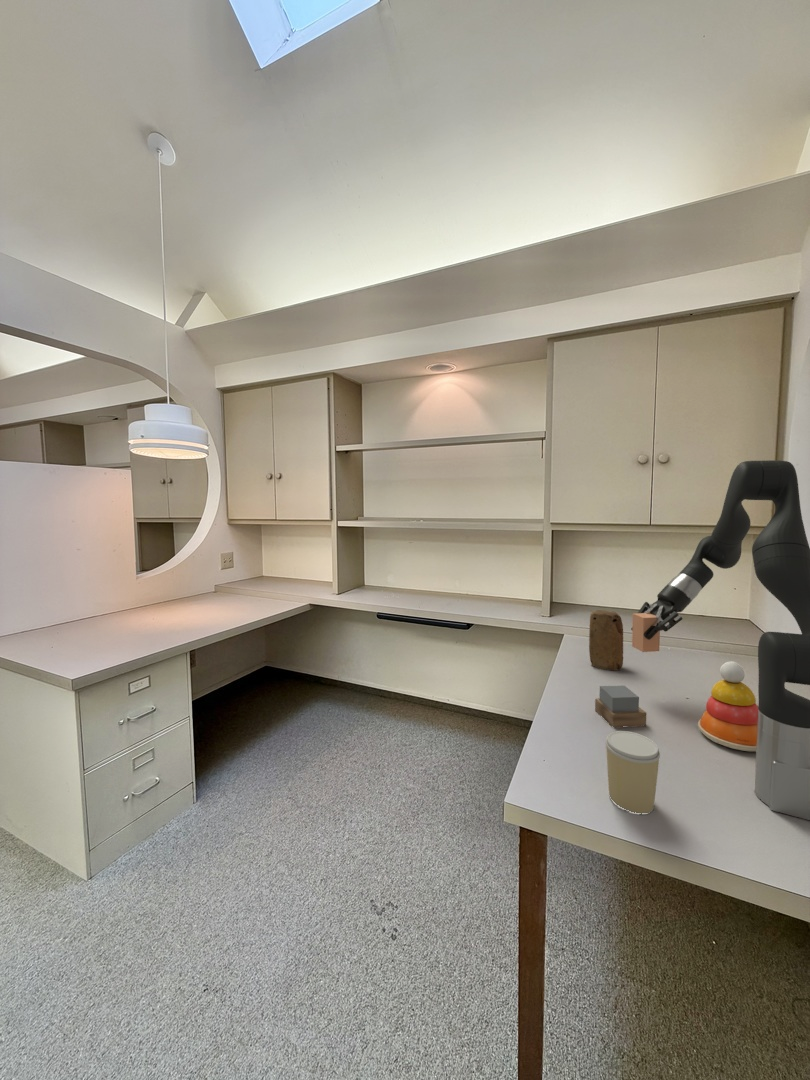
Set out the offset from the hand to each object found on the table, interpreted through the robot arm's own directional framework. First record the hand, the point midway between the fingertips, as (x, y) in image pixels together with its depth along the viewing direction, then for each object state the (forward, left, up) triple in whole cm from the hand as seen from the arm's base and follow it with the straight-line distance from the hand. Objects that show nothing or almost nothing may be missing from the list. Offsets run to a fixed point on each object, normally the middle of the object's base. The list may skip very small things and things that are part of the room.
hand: (639, 634), depth 122 cm
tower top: (-15, +5, -16) cm, 22 cm away
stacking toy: (-13, -21, -20) cm, 31 cm away
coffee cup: (-49, 0, -20) cm, 53 cm away
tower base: (-14, +4, -20) cm, 25 cm away
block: (+23, +10, -20) cm, 33 cm away
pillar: (+1, -2, -4) cm, 5 cm away
